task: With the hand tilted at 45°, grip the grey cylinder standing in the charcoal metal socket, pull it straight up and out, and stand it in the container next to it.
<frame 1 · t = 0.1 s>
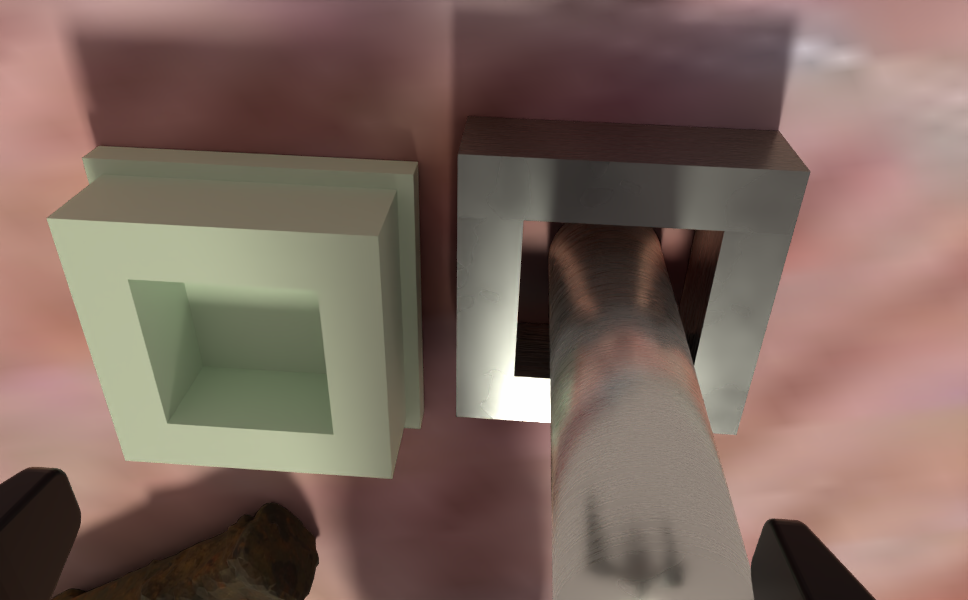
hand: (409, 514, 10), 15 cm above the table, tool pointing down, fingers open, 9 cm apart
socket: (604, 258, 24), on the table
hand tool: (160, 578, 35), on the table
grey cylinder: (622, 385, 19), in the socket
container: (277, 291, 26), on the table
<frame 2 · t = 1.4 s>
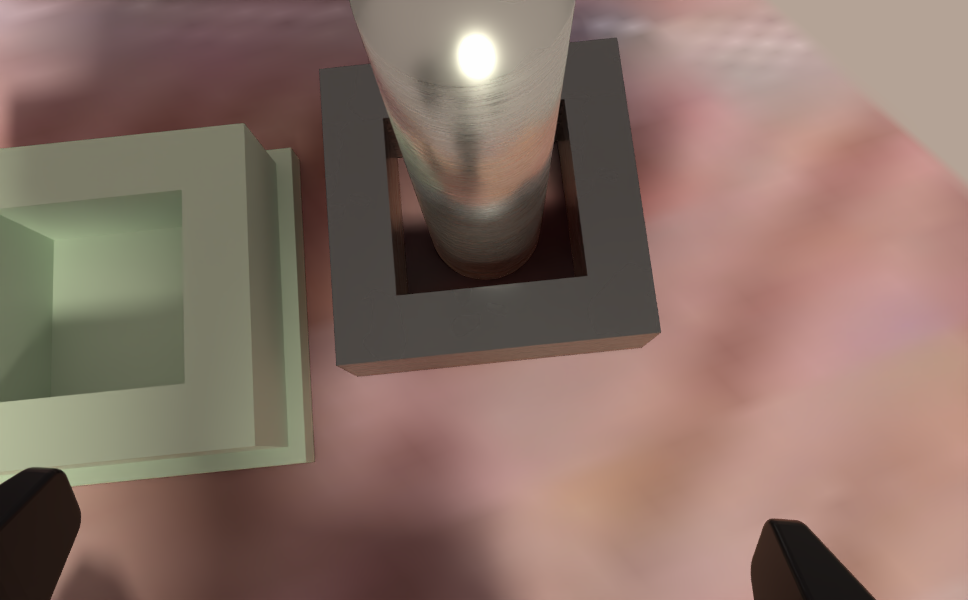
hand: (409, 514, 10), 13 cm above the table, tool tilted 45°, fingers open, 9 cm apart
socket: (485, 226, 24), on the table
grey cylinder: (477, 145, 18), in the socket
container: (153, 320, 24), on the table
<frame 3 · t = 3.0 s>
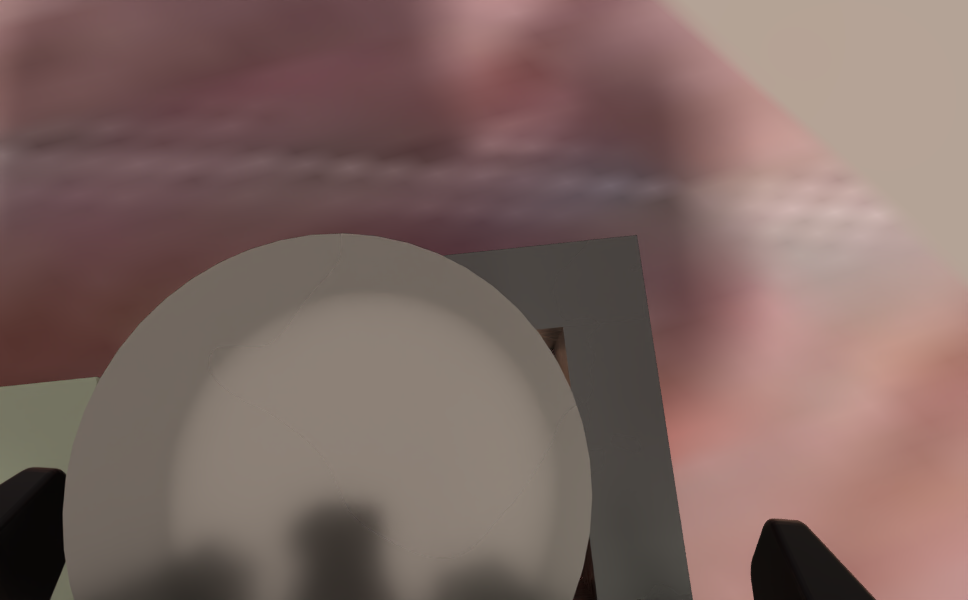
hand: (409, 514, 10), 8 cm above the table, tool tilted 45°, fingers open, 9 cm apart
socket: (455, 472, 18), on the table
grey cylinder: (426, 475, 11), in the socket
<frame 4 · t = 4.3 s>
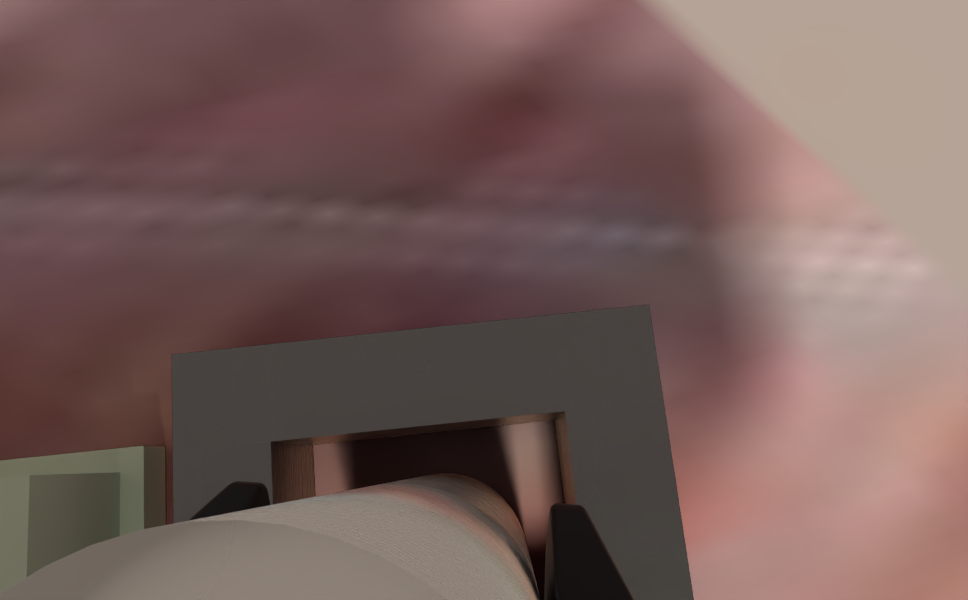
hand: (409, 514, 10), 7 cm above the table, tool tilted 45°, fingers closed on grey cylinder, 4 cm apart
socket: (444, 559, 16), on the table
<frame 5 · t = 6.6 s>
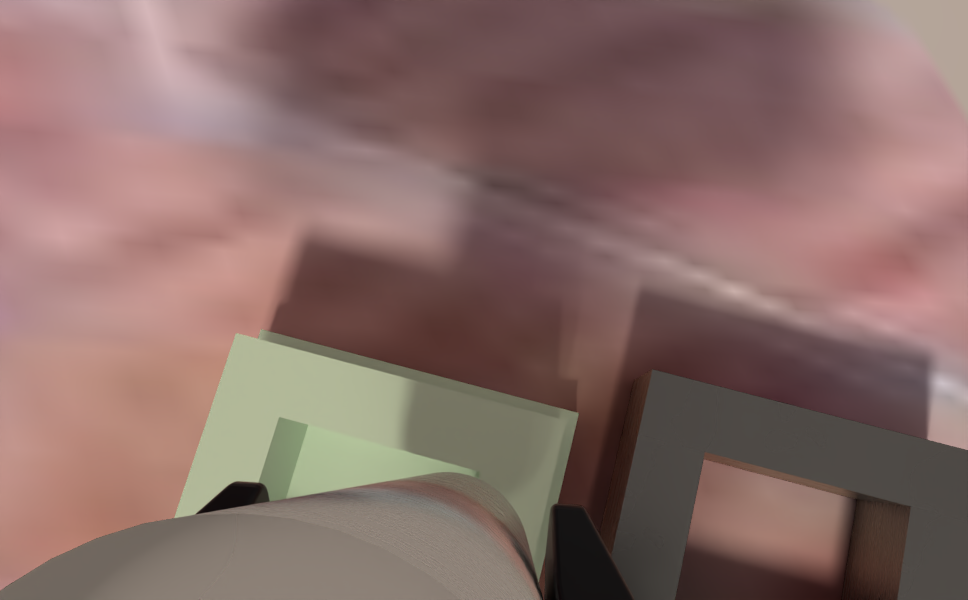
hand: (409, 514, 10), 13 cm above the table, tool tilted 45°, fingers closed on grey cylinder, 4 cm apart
socket: (750, 566, 22), on the table
container: (375, 533, 22), on the table
when the fingers open (9 cm above the table, at t = 8.2 s): grey cylinder drops 1 cm, resting on container.
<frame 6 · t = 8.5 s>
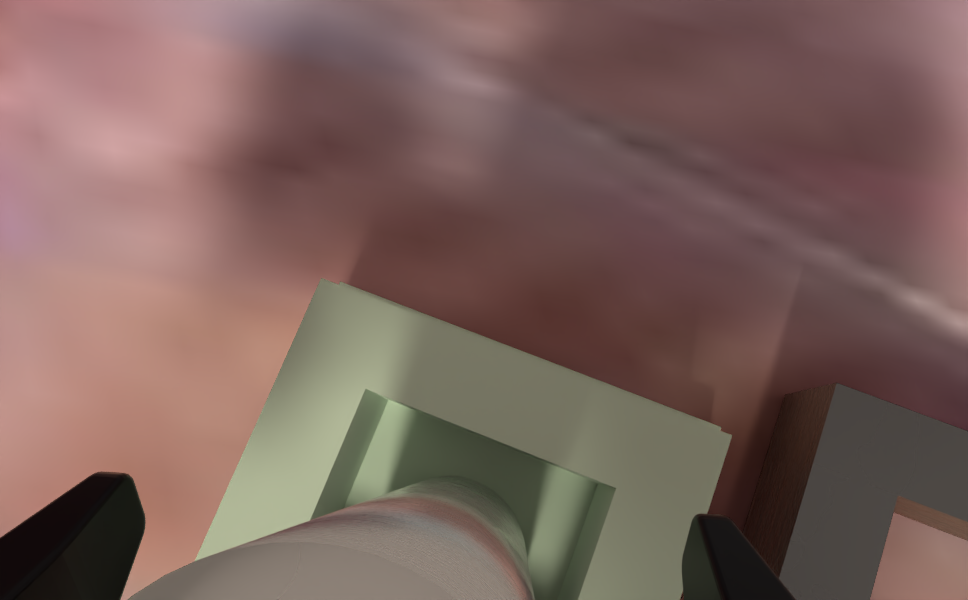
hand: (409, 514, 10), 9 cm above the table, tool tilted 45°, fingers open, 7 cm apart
container: (452, 545, 18), on the table
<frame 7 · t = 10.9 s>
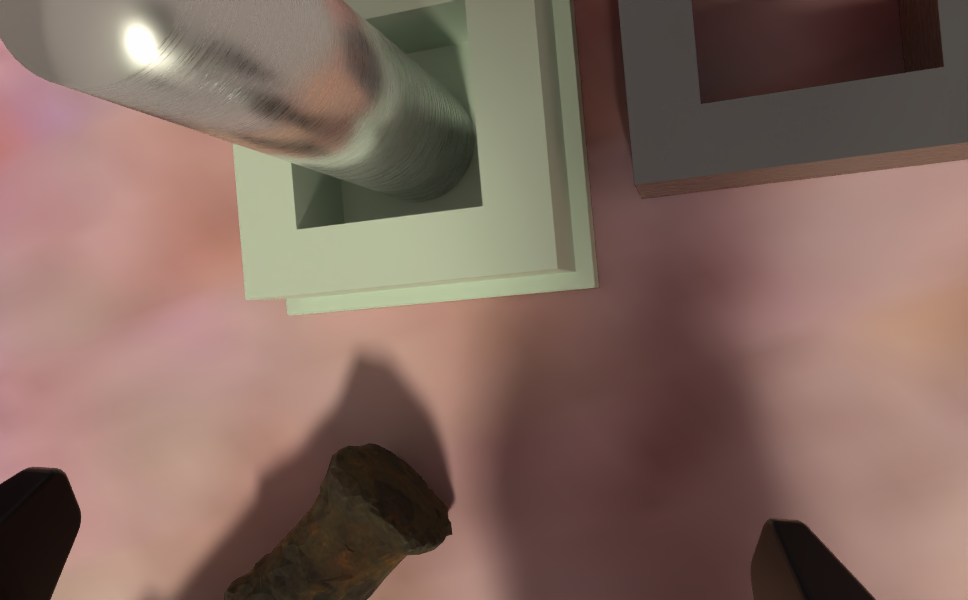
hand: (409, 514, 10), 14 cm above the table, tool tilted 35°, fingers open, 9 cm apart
socket: (791, 19, 21), on the table
grey cylinder: (315, 85, 16), in the container, point 8 cm above the table
container: (429, 146, 24), on the table
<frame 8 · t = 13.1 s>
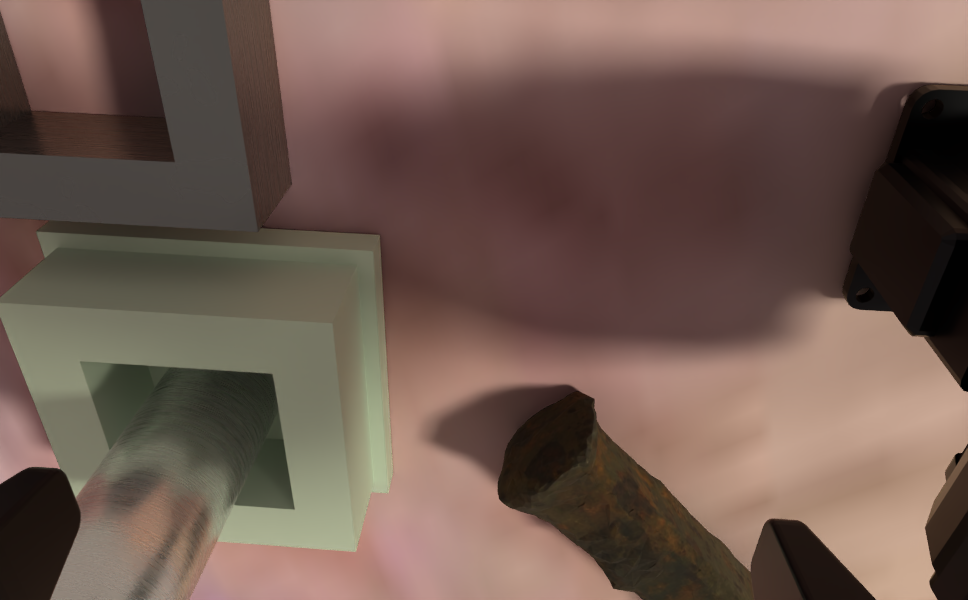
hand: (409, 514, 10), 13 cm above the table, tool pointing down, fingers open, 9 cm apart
socket: (100, 14, 19), on the table
hand tool: (705, 533, 29), on the table
grey cylinder: (139, 535, 19), in the container, point 8 cm above the table
container: (240, 357, 25), on the table
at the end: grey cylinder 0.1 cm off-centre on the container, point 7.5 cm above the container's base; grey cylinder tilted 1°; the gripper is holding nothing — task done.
